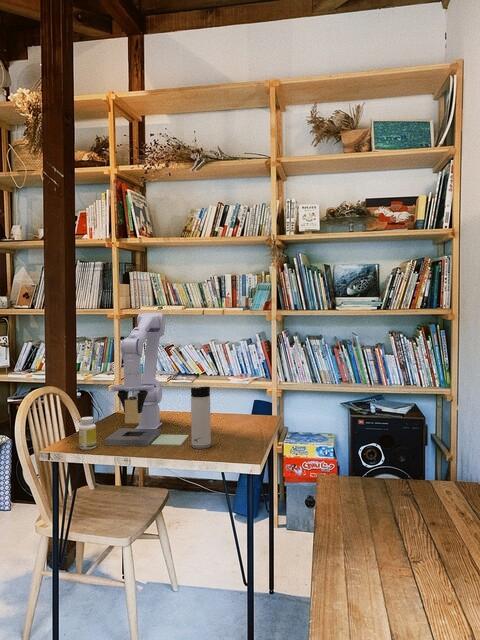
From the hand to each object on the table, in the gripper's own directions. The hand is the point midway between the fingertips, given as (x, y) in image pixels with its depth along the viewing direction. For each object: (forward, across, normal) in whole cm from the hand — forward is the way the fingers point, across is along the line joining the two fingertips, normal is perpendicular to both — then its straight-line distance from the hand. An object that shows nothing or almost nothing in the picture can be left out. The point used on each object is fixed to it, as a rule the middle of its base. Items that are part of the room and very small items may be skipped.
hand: (133, 412), depth 176 cm
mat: (+10, +13, 0) cm, 16 cm away
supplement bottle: (+10, -12, -10) cm, 19 cm away
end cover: (+3, 0, 0) cm, 3 cm away
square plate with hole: (+10, 0, 0) cm, 10 cm away
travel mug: (+10, +25, -7) cm, 28 cm away
